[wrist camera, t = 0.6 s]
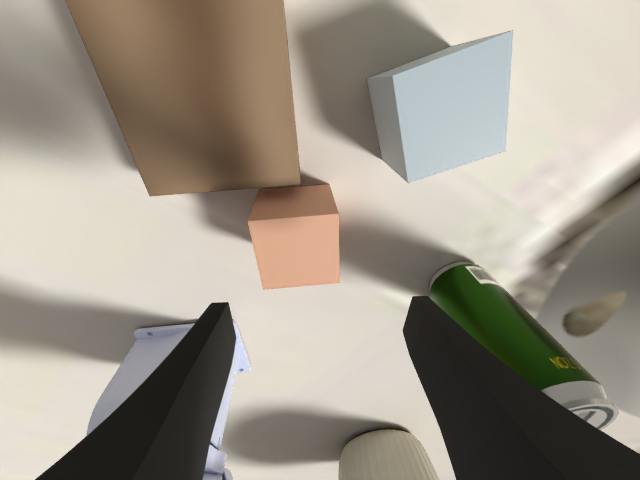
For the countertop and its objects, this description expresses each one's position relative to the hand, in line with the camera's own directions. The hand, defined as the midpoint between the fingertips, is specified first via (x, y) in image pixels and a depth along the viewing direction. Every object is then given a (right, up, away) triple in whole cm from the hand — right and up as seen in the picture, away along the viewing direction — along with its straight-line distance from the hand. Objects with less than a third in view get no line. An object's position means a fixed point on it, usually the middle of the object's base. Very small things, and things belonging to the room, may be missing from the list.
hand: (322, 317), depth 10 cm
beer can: (+13, -1, +14) cm, 19 cm away
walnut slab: (-6, +11, +5) cm, 14 cm away
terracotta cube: (-2, +5, +9) cm, 11 cm away
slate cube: (+6, +11, +6) cm, 14 cm away
